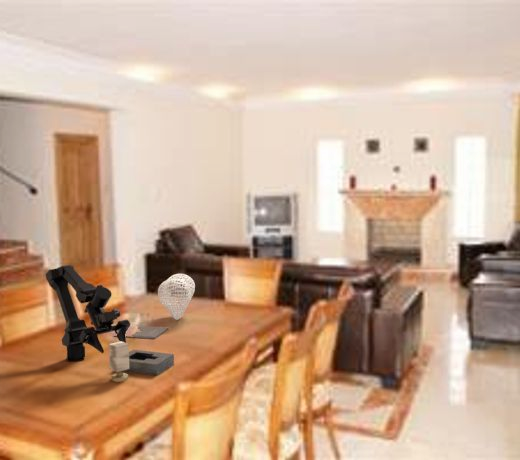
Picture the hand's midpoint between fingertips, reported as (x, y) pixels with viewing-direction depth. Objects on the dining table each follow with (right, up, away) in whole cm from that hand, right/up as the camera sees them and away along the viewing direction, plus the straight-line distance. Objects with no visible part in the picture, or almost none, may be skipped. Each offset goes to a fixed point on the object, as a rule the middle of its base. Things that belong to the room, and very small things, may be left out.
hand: (114, 349), depth 214 cm
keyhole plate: (+9, -9, +11) cm, 17 cm away
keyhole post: (+2, -10, -1) cm, 11 cm away
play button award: (-2, -5, +60) cm, 60 cm away
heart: (+11, -2, +84) cm, 85 cm away
